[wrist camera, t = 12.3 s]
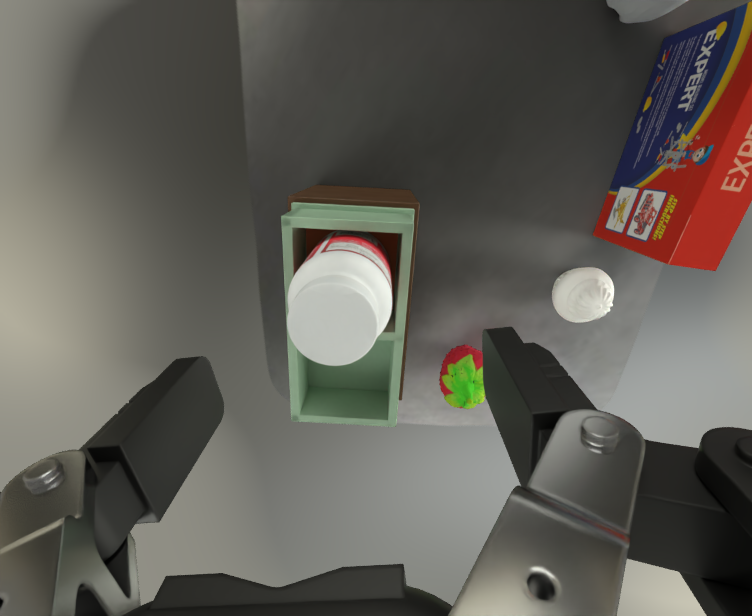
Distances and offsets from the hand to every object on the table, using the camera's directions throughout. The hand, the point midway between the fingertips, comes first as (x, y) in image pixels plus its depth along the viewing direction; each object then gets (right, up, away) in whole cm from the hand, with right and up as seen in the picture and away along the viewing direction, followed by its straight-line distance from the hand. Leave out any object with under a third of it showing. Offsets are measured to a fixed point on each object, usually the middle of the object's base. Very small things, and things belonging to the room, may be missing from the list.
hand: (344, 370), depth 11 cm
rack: (-1, +6, +31) cm, 32 cm away
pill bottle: (-1, +5, +18) cm, 19 cm away
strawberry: (+11, -4, +36) cm, 38 cm away
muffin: (+23, +5, +32) cm, 39 cm away
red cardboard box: (+28, +18, +26) cm, 42 cm away
